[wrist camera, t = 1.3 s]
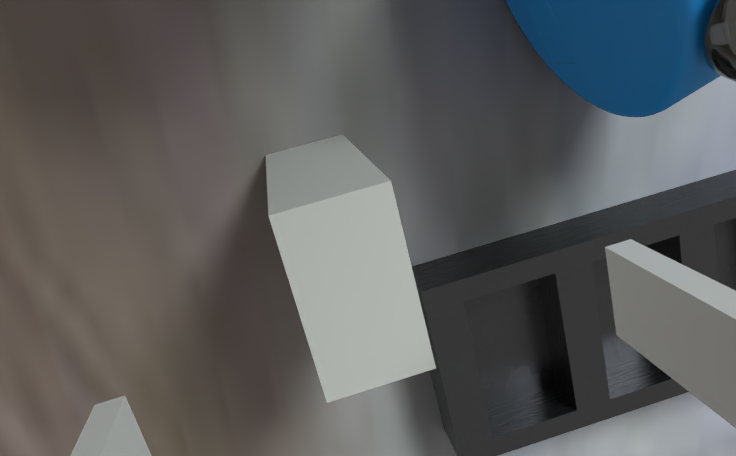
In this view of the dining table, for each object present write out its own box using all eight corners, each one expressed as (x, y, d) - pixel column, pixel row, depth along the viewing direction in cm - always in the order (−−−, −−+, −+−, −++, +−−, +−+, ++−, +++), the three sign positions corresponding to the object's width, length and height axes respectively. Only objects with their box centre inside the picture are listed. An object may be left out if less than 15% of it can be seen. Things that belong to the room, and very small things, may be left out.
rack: (405, 268, 33) (422, 293, 29) (779, 156, 35) (835, 167, 32) (445, 434, 36) (464, 473, 33) (783, 323, 38) (834, 349, 35)
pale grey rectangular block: (264, 155, 30) (266, 216, 19) (343, 133, 30) (392, 180, 19) (302, 280, 32) (325, 403, 21) (375, 258, 32) (437, 367, 21)
